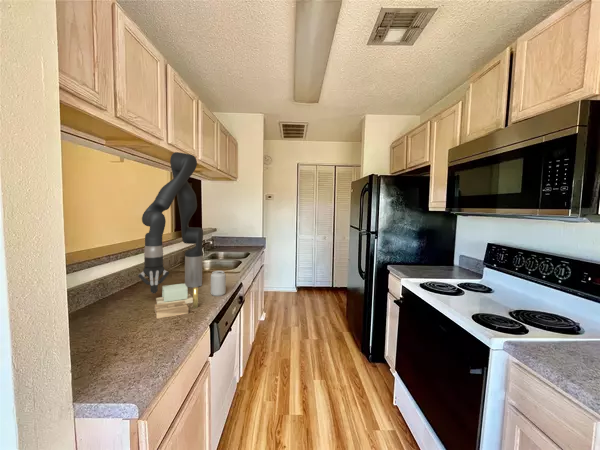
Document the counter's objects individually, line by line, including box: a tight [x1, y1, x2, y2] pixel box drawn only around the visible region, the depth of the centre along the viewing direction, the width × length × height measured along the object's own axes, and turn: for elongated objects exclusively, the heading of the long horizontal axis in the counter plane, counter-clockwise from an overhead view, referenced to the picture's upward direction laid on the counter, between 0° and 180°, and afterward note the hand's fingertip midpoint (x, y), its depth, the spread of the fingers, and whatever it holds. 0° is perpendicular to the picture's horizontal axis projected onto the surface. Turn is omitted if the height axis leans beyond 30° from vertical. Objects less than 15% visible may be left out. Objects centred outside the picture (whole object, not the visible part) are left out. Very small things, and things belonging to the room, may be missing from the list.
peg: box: [192, 287, 199, 309], centre depth 125 cm, size 2×2×9 cm
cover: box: [161, 282, 189, 302], centre depth 132 cm, size 8×10×5 cm
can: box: [210, 270, 227, 297], centre depth 145 cm, size 8×8×12 cm
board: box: [155, 293, 193, 305], centre depth 132 cm, size 10×15×4 cm, turn 122°
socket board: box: [154, 301, 189, 320], centre depth 120 cm, size 10×12×2 cm
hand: (154, 292), depth 128 cm, fingers closed
